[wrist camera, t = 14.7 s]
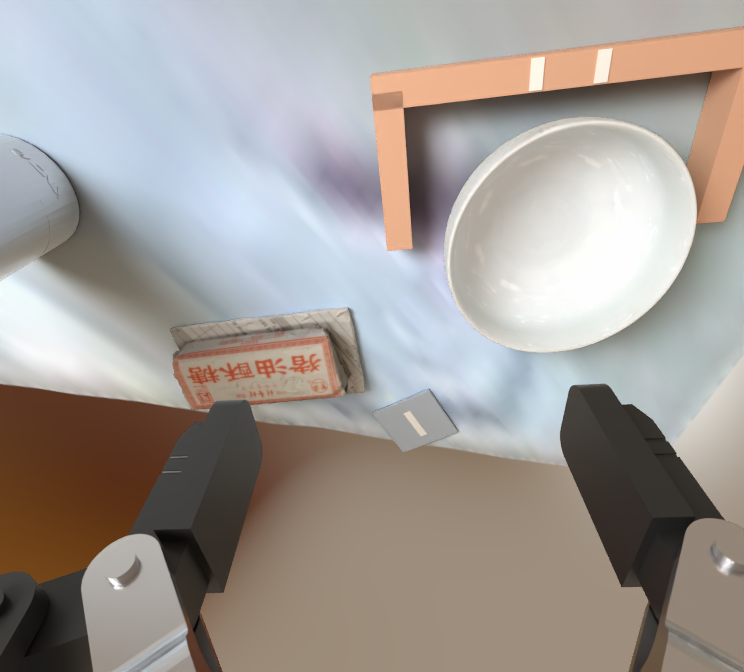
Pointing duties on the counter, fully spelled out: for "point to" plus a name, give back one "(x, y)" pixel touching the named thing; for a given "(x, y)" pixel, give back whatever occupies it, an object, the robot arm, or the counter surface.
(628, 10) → the counter surface
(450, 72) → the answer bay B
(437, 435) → the tile
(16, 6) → the counter surface
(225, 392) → the packaged product
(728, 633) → the robot arm
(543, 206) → the cereal bowl
